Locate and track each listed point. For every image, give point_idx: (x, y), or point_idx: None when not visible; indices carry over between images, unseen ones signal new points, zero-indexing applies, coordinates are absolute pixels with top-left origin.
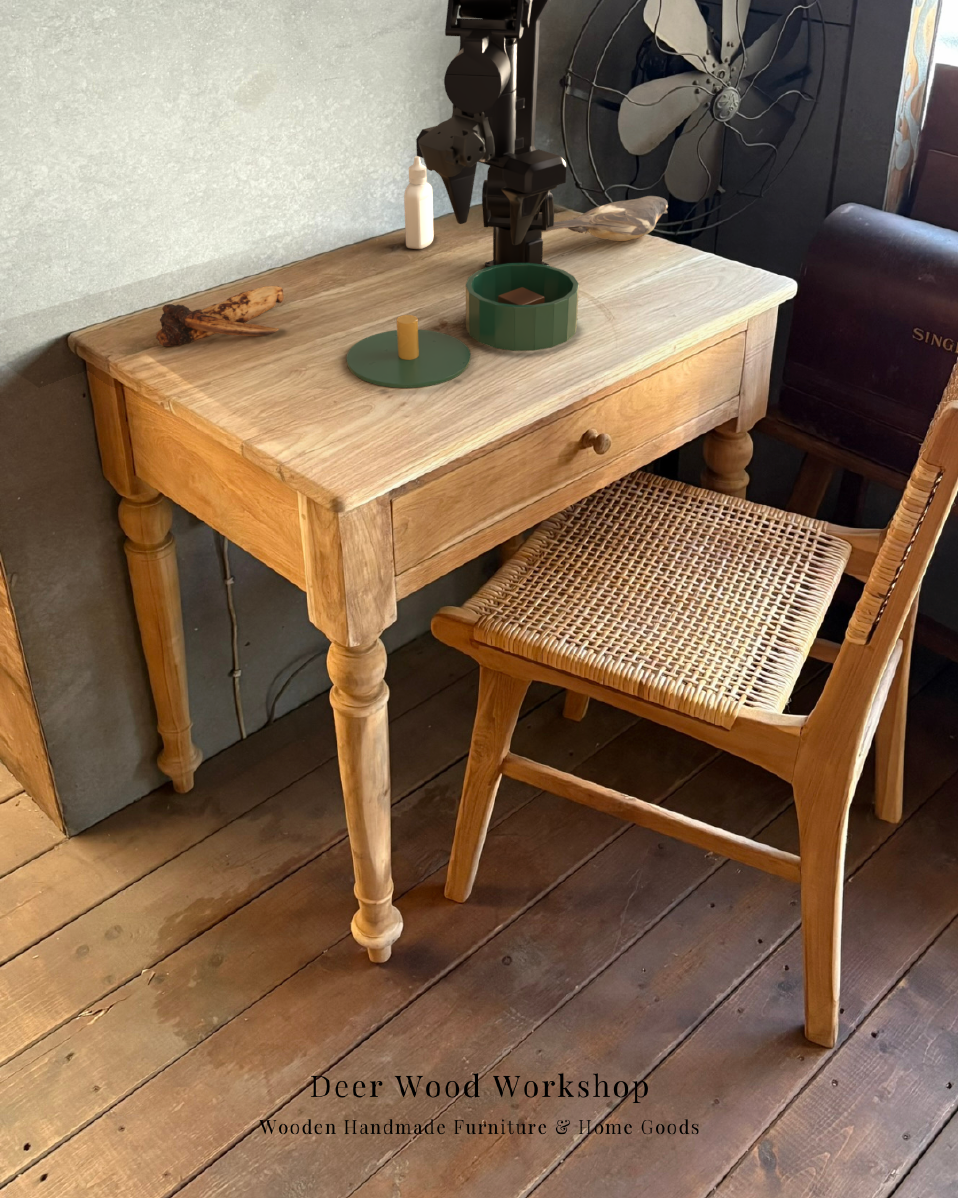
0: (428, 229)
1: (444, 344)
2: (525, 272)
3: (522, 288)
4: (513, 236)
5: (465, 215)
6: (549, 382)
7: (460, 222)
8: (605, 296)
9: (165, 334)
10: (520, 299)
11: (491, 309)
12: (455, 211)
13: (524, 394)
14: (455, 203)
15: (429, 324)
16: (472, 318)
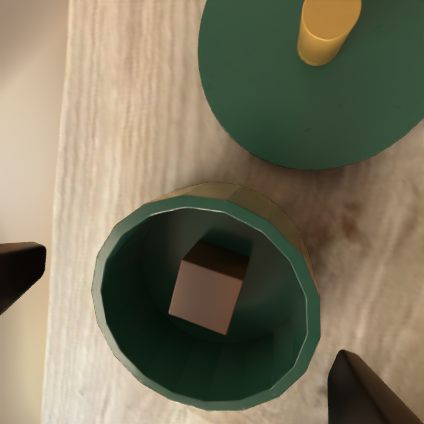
0: None
1: (282, 129)
2: (245, 385)
3: (221, 329)
4: (5, 246)
5: (334, 398)
6: (91, 138)
7: (339, 353)
8: (180, 419)
9: None
10: (196, 283)
11: (198, 193)
12: (378, 387)
13: (96, 82)
14: (387, 422)
15: (376, 217)
16: (260, 202)
